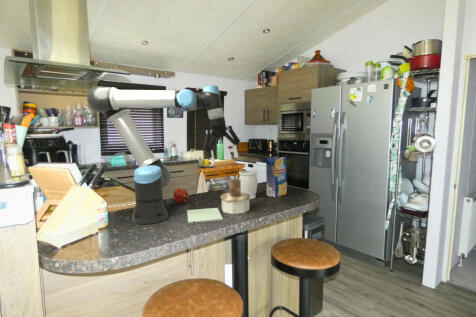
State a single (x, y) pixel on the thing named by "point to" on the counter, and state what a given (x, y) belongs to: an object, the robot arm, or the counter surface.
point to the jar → (248, 182)
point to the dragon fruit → (181, 195)
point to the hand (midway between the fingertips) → (225, 160)
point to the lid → (235, 192)
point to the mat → (203, 215)
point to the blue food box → (276, 176)
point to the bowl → (235, 206)
